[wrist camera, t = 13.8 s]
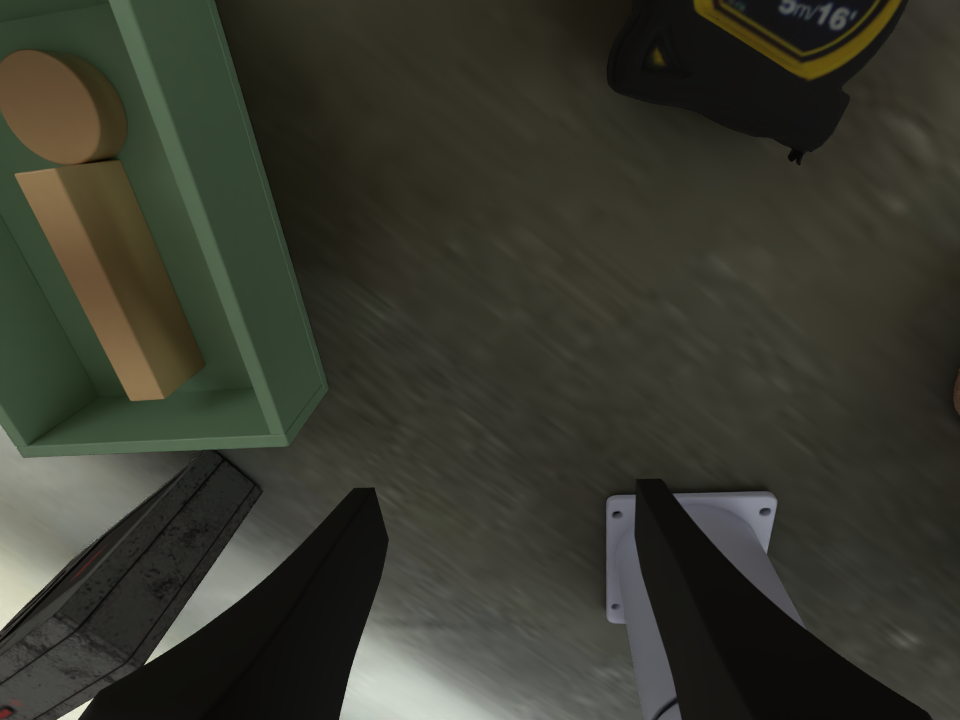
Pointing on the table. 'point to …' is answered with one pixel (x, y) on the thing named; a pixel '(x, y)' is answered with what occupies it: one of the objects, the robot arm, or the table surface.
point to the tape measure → (752, 61)
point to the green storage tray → (178, 237)
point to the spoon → (97, 217)
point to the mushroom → (957, 394)
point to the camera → (120, 593)
